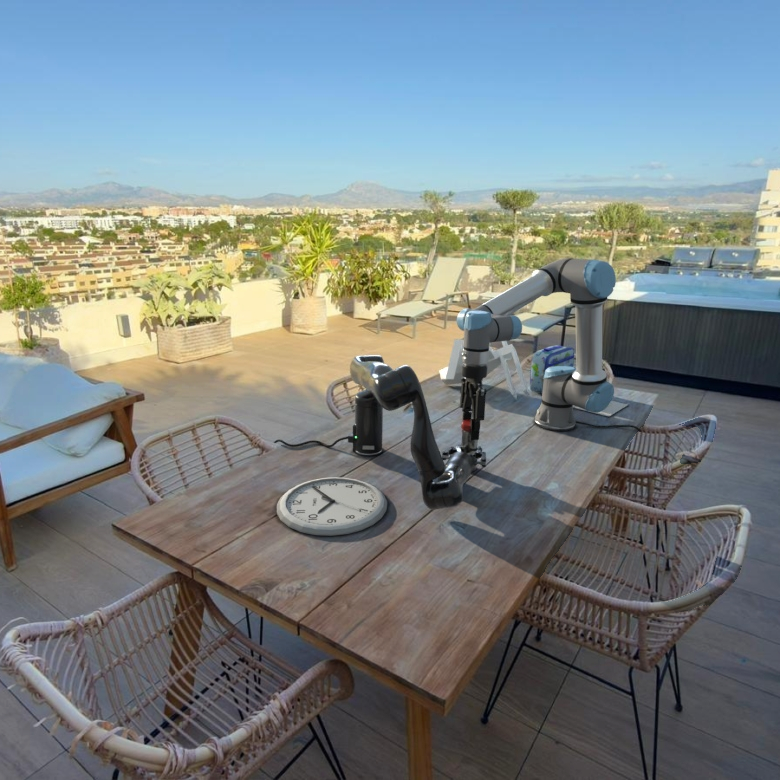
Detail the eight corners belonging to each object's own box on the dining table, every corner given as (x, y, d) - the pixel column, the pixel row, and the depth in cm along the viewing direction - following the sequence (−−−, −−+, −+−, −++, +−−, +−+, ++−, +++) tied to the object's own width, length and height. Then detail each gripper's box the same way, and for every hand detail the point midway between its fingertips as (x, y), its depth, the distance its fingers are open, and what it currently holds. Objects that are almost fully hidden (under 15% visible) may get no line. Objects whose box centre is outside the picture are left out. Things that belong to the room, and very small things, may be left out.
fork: (400, 411, 216) (400, 406, 215) (412, 399, 230) (412, 395, 230) (406, 412, 215) (406, 407, 215) (418, 400, 230) (418, 396, 229)
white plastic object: (461, 429, 252) (437, 405, 227) (444, 352, 274) (420, 323, 250) (535, 404, 240) (518, 377, 215) (510, 326, 262) (492, 293, 237)
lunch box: (546, 398, 236) (551, 353, 229) (525, 393, 243) (529, 349, 237) (573, 387, 253) (579, 344, 247) (553, 382, 260) (558, 341, 254)
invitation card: (608, 416, 214) (573, 407, 224) (608, 416, 214) (573, 408, 224) (628, 404, 229) (594, 396, 238) (628, 405, 229) (594, 397, 238)
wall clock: (392, 527, 129) (268, 531, 127) (391, 533, 130) (269, 537, 127) (383, 473, 158) (282, 475, 155) (383, 478, 158) (282, 480, 156)
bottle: (456, 468, 166) (459, 424, 162) (466, 463, 170) (469, 420, 165) (469, 473, 163) (472, 428, 158) (478, 468, 166) (482, 424, 162)
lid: (479, 432, 159) (479, 426, 158) (460, 430, 160) (460, 424, 159) (480, 425, 164) (480, 420, 164) (462, 424, 165) (462, 418, 165)
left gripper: (483, 461, 148) (494, 439, 163) (434, 453, 153) (449, 433, 168) (481, 485, 150) (492, 461, 165) (433, 476, 155) (448, 454, 170)
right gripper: (451, 356, 164) (448, 425, 170) (476, 372, 146) (470, 448, 153) (473, 355, 165) (469, 424, 172) (500, 370, 148) (494, 446, 155)
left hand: (470, 447), depth 167 cm, fingers closed on bottle, 5 cm apart
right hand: (470, 435), depth 163 cm, fingers closed on lid, 6 cm apart
